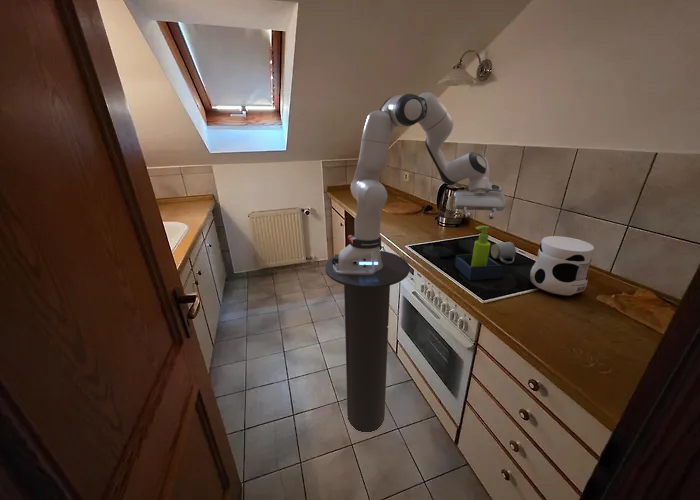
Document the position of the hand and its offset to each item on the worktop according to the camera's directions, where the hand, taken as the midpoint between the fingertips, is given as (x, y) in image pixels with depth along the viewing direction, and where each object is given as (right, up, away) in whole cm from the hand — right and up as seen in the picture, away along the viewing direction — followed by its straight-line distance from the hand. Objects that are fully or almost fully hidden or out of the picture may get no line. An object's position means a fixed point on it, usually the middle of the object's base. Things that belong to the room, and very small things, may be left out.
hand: (479, 217), depth 126 cm
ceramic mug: (+15, -18, +9) cm, 25 cm away
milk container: (+21, -28, -15) cm, 38 cm away
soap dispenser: (-2, -23, -2) cm, 23 cm away
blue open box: (-2, -23, -2) cm, 23 cm away
